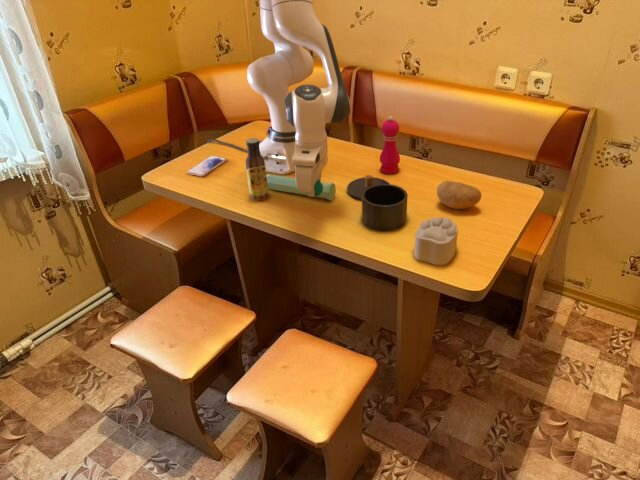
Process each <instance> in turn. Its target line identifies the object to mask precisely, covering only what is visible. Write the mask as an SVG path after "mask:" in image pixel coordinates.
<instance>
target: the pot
mask: <svg viewBox="0 0 640 480" xmlns="http://www.w3.org/2000/svg"><path fill="white" fill-rule="evenodd" d="M408 197H409V195H408V192H407V190H405V189H404V188H403V187H401V186H399V185H395V184H390V183H389V184H378V185H373V186H370V187H368V188H366V189H365V190H364V191H363V193H362V199H361V221H362V223H363V225H365V226H366V227H367V228H368V229H371V230H374V231H377V232H389V231H390V232H391V231H396V230H398V229H401V228H402V227H403V226H404V225H405V224H406V223H407V218H408V216H407V215H408V200H409V199H408Z"/></svg>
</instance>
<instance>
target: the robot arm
mask: <svg viewBox="0 0 640 480" xmlns="http://www.w3.org/2000/svg"><path fill="white" fill-rule="evenodd" d="M259 13H260V28H261V29H260V30H261V33H262V35H263V37H265V39H267V40H269V41H270V42H272V43H273V45H274V46H273V47H274V53H272V54H268V55H265V56H261V57H259V58H258V59H256V60H254V61H253V62H251V63H250V64H249V65H248V66H247V70H246V79H247V82H248V85H249V86H250V88H251V89H252V90H253V91H254V92H255V93H257V94H258V95H260V96H261V97H262V98H263V99H264V101H265V103H266V104H267V107H268V111H269V117H270V123H269V126H268V127H267V130H266V131H265V135H266V137H265V138H264V139H262V140H259V143H260V144H259V149H260V154H261V155H262V157H263V158H264V161H265V166H266V173H273V174H279V175H289V174H290V173H293V172H294V175H295V178H296V183H297V188H298V190H299V191H300V192H308V196H307V197H311V198H315V197H314V195H315V189H314V185H315V183H316V182H317V180H319V181H320V182H321V183H322V173H323V171H324V169H325V167H326V166H327V163H328V158H329V157H328V153H329V151H328V149H329V148H328V134H327V131H326V126H327V125H326V124H340V125H341V124H342V123H344V122H345V121H346V120H347V119H348V118H349V116H350V114H351V106H352V105H351V100H350V97H349V95H348V91H347V88H346V86H345V82H344V79H343V76H342V72H341V69H340V65H339V61H338V57H337V52H336V50H335V46H334V42H333V40H332V36H331V33H330V31H329V30H328V27H327V26H326V25H324V24H322V23H321V22H320V21H319V19H318V17H317V15H316V12H315V8H314V2H313V0H259ZM305 48H308V49H309V50H312V51H313V52H315V53H316V54H317V55H318V56H319V58H320V60H321V63H322V66H323V70H324V74H325V78H326V82H327V86H326V87H319V86H317V85H313V84H301V85H299V86H297V87H295V89H294V90H291V91H289V87H292V86H294V85H297V84H299V83H302V82H304V81H306V80H307V79H308V78H309V77H310V76H311V75H312V74H313V72H314V70H315V64H314V58H313V57H312V55H311V53H310V52H309V51H308V50H307V49H305ZM211 142H216V143H219V144H221V145H225V146H229V147H231V148H235V149H238V150H241V151H242V152H245V153H247V154H248V150H245V149H244V148H242V147H241V146H237V145H235V144H232V143H229V142H225V141H221V140H218V139H215V138H211V139H208V141H207V143H208V144H209V143H211Z"/></svg>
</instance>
